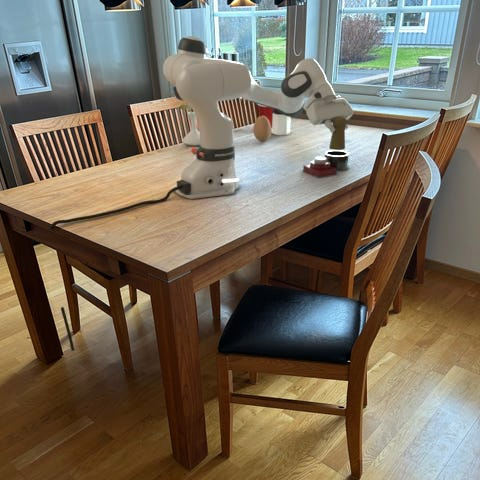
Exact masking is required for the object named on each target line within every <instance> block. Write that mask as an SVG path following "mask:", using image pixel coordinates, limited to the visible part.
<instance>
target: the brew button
mask: <svg viewBox="0 0 480 480" xmlns="http://www.w3.org/2000/svg"><path fill="white" fill-rule="evenodd" d="M313 160H314V163H316V164H325V163H326V158H325V156H316V157H314V159H313Z"/></svg>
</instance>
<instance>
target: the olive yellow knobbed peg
mask: <svg viewBox="0 0 480 480" xmlns="http://www.w3.org/2000/svg"><path fill="white" fill-rule="evenodd" d="M347 123H348V119H347V120H346V119H345V118H343V117H336V118H334V119H333V122H332V125H333V126H335V127H336V129H337V130H336V131H335V132H333V133H331V137H330V142H329V147H328V148H329V149H330V150H332V151H334V150H337V151H344V150H345V149H346V130H345V126H346V124H347ZM347 125H348V124H347Z"/></svg>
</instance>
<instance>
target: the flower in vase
mask: <svg viewBox="0 0 480 480" xmlns="http://www.w3.org/2000/svg"><path fill="white" fill-rule="evenodd" d="M177 109H178V110H182V111H183V110H185V111H186V110H187V109H188V110H189V111H188V112H187V115H188V117H189V119H190V131H189V132H188V133H187V134H186V135H185V136H184V137H183V139H182V141H181V142H182V144H184V145H186V146H192V147H195V146H200V145H201V143H200V131H199V129H197V117H196V115H195V113H194V111H193V109H192V108H191V107H190V106H189V105H188V104H187V103H185V104H181V105H179V106H178V108H177Z"/></svg>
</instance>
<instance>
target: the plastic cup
mask: <svg viewBox="0 0 480 480" xmlns="http://www.w3.org/2000/svg"><path fill="white" fill-rule="evenodd" d="M256 105H257V109H258V113H259V117H260V116H265V117H266V118H267V119H268V120H269V122H270V125H271V129H272V120H273V113H274V111H273V110H274V109H273V108H269V107H266V106H263V105H260V104H256Z"/></svg>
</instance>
